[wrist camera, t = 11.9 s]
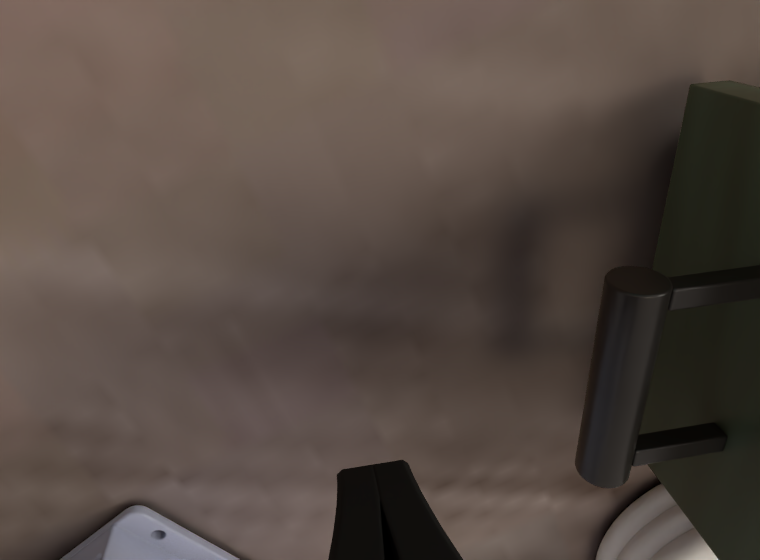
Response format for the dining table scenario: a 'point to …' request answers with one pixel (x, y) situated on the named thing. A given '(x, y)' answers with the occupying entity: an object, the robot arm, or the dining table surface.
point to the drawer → (690, 335)
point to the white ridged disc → (653, 532)
